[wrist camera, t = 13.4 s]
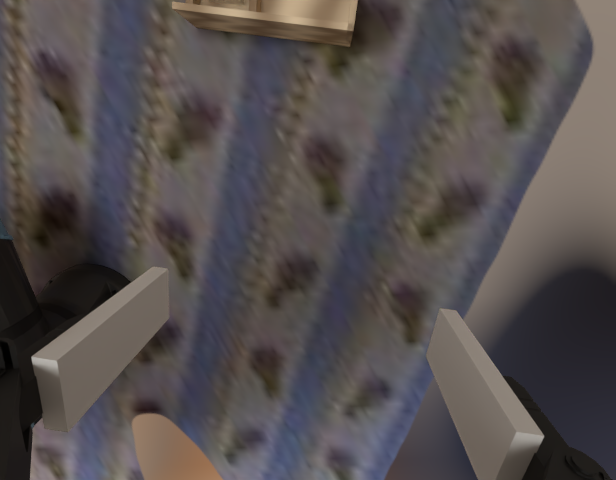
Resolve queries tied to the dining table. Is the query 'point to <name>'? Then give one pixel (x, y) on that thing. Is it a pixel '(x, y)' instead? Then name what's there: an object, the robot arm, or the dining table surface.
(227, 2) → the plain off-white rectangular block
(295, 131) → the dining table surface
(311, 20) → the cabinet carcass
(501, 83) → the dining table surface
